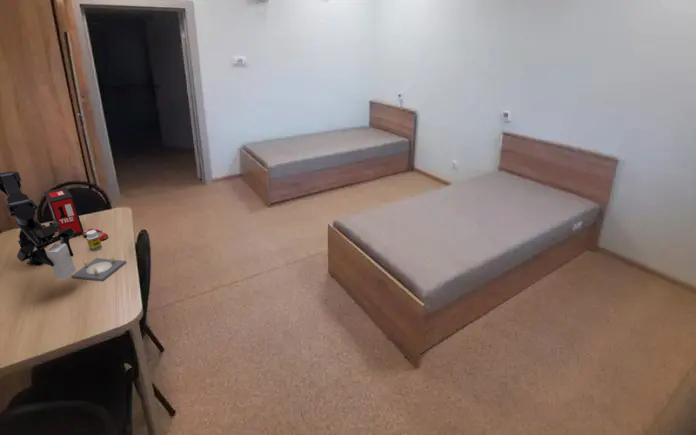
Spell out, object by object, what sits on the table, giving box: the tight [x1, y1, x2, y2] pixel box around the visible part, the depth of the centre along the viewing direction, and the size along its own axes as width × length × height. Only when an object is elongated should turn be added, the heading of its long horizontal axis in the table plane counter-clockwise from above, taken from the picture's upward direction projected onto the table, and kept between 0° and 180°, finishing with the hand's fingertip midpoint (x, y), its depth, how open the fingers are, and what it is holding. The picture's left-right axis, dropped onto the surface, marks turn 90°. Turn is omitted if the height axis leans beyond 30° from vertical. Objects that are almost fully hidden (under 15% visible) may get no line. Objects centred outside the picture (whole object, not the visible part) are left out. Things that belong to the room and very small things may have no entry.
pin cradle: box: [70, 255, 127, 282], centre depth 164 cm, size 14×14×4 cm
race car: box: [82, 228, 109, 242], centre depth 191 cm, size 13×5×4 cm, turn 65°
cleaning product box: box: [43, 187, 85, 239], centre depth 193 cm, size 16×9×20 cm, turn 43°
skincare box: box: [45, 243, 77, 280], centre depth 148 cm, size 6×4×12 cm
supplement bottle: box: [86, 230, 103, 252], centre depth 180 cm, size 5×5×8 cm
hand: (63, 260), depth 147 cm, fingers closed on skincare box, 7 cm apart
